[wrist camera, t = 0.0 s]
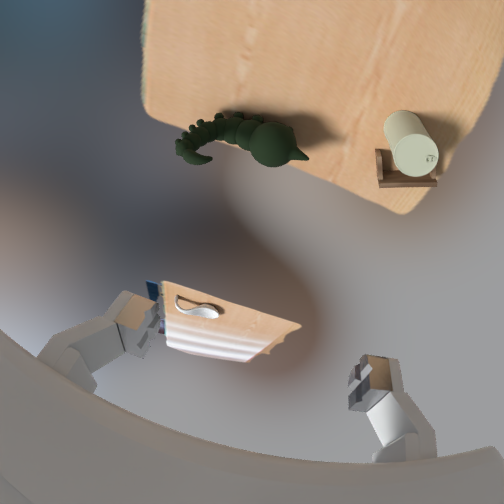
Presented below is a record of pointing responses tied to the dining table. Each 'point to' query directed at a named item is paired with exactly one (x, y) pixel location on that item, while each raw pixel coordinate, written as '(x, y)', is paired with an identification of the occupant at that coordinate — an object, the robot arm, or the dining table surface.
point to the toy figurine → (242, 139)
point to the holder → (402, 177)
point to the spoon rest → (199, 310)
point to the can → (410, 144)
